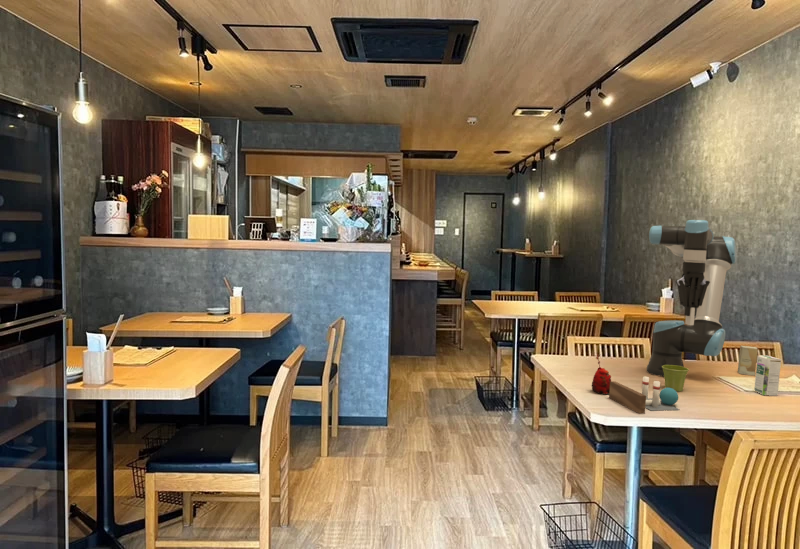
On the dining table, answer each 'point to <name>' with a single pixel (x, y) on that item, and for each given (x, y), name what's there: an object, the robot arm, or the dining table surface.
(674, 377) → the plant pot
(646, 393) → the pin back right
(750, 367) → the skincare box
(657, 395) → the pin back left
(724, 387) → the dining table surface
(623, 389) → the bar
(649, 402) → the pin front
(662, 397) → the ball
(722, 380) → the dining table surface
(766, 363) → the syrup box
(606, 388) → the red clay folk toy
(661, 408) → the pin deck mark
